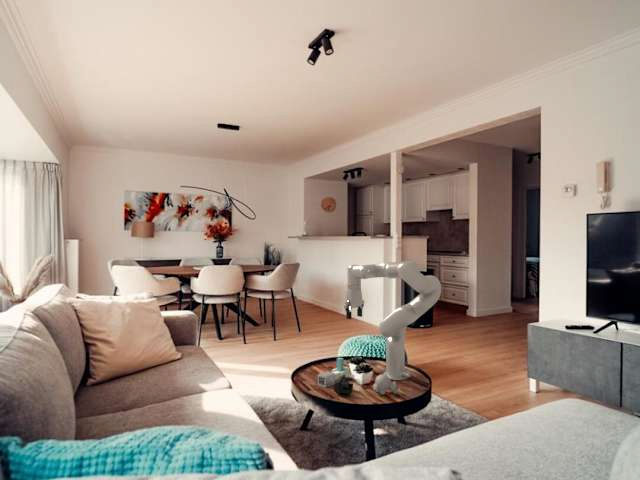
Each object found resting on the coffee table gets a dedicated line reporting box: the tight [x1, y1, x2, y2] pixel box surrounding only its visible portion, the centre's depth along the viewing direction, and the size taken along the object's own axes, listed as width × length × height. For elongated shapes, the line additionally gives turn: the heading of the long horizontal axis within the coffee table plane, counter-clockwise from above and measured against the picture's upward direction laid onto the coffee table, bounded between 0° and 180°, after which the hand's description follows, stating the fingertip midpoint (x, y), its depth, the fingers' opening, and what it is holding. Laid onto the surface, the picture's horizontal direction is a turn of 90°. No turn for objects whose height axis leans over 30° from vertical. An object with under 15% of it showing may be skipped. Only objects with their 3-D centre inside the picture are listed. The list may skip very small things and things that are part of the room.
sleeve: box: [317, 370, 336, 389], centre depth 193 cm, size 5×7×5 cm
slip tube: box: [331, 357, 344, 381], centre depth 198 cm, size 3×12×9 cm, turn 137°
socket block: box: [331, 366, 351, 381], centre depth 201 cm, size 7×6×6 cm
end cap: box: [332, 375, 354, 398], centre depth 183 cm, size 10×7×7 cm
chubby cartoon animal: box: [372, 373, 401, 396], centre depth 181 cm, size 7×12×8 cm, turn 83°
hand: (354, 317), depth 218 cm, fingers open, 9 cm apart
